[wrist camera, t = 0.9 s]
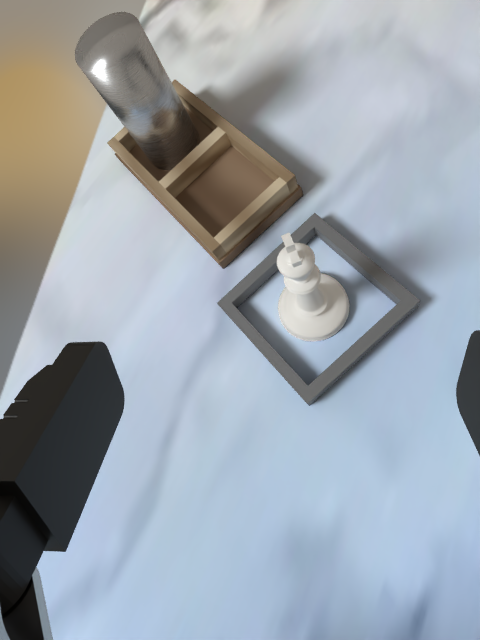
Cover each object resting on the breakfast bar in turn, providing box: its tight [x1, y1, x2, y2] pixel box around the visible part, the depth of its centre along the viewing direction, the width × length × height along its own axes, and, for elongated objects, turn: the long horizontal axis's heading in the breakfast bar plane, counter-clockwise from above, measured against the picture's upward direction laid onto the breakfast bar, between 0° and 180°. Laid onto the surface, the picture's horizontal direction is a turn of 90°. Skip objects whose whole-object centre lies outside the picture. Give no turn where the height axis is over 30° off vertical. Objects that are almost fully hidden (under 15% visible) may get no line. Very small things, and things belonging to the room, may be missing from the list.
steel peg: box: [75, 12, 200, 170], centre depth 31 cm, size 5×5×10 cm
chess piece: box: [277, 233, 350, 342], centre depth 24 cm, size 5×5×10 cm
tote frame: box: [217, 213, 420, 406], centre depth 28 cm, size 10×10×1 cm
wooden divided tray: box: [108, 80, 303, 269], centre depth 34 cm, size 8×16×2 cm, turn 40°
